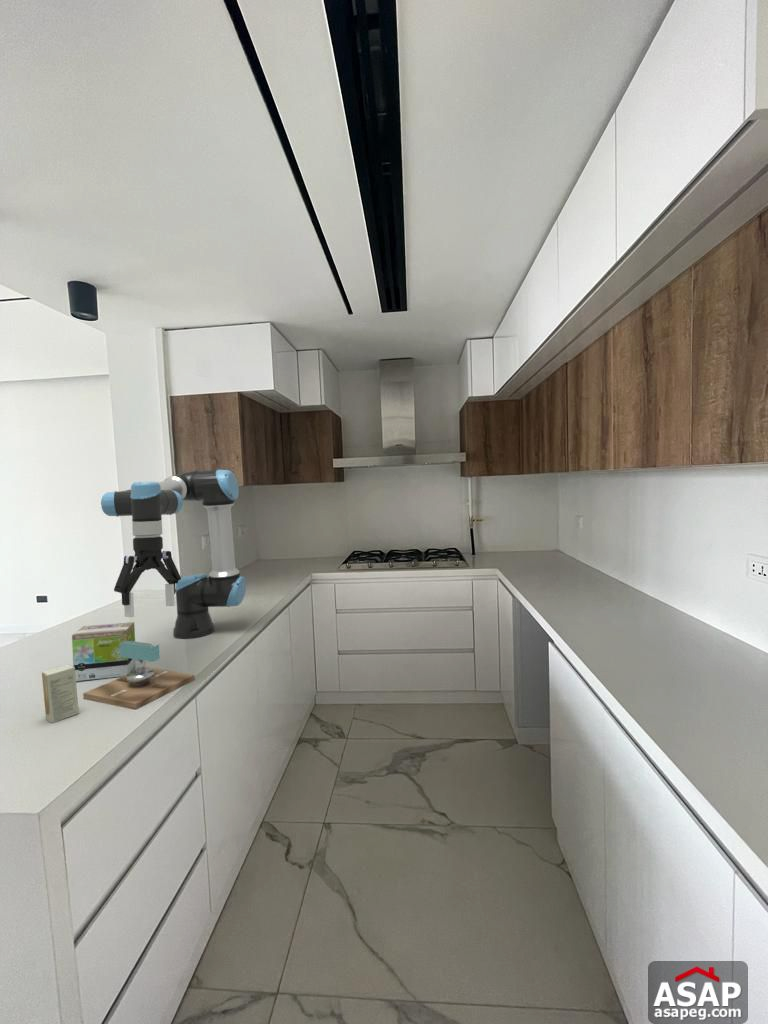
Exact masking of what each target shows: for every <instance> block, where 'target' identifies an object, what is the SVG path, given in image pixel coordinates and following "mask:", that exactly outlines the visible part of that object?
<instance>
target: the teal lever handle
mask: <svg viewBox="0 0 768 1024" xmlns="http://www.w3.org/2000/svg"><path fill="white" fill-rule="evenodd" d="M119 653H120V657H124V658H131V659H135V667H134V668H135V670H132V671H131V672H130V673H129V674H127V676H126V677H127V681H128V682H141V681H145V680H148V679H151V678H152V677H154V670H153V669H145V667H146V663H145V662H152V663H153V662H155V661H159V660H160V659H161V654H160V644H158V642H152V643H149V642H148V643H147V642H140V641H135V642H134V641H124V642H121V643H119Z"/></svg>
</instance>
